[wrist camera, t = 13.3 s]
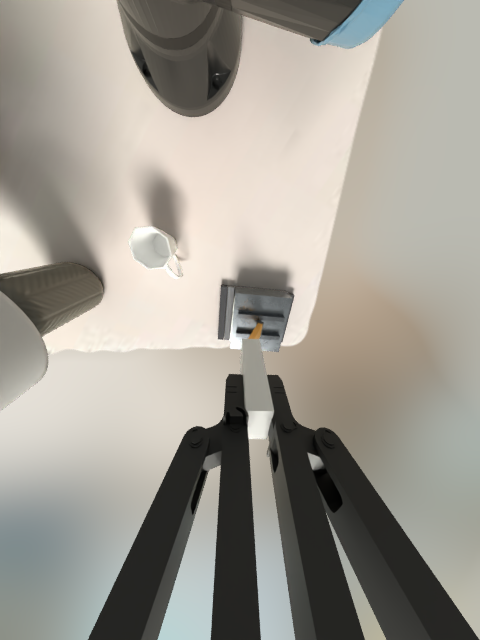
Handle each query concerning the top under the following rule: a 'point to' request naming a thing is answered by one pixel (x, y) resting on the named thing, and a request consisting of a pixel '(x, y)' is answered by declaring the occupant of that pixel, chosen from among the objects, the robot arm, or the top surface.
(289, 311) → the dark gray bar
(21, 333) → the lamp
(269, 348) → the box
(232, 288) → the gray slab
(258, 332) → the lever
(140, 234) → the cup
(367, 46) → the top surface
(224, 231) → the top surface
